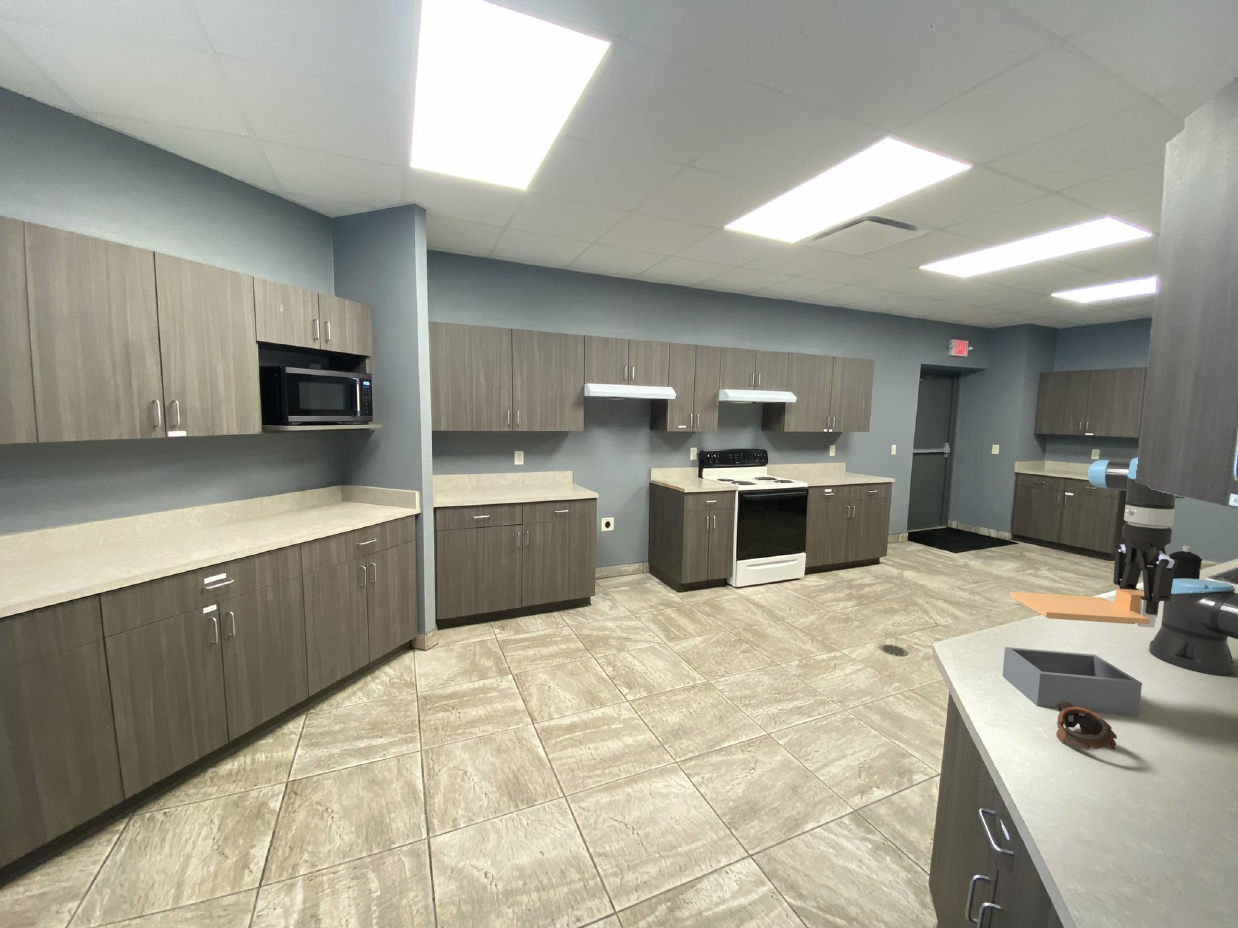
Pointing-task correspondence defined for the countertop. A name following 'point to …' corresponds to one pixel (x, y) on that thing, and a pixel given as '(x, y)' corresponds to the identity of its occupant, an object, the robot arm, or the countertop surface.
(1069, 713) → the brown jagged ring
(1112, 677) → the tub
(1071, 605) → the lid
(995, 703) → the countertop surface
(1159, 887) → the countertop surface
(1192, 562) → the aerosol can
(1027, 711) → the countertop surface
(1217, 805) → the countertop surface
